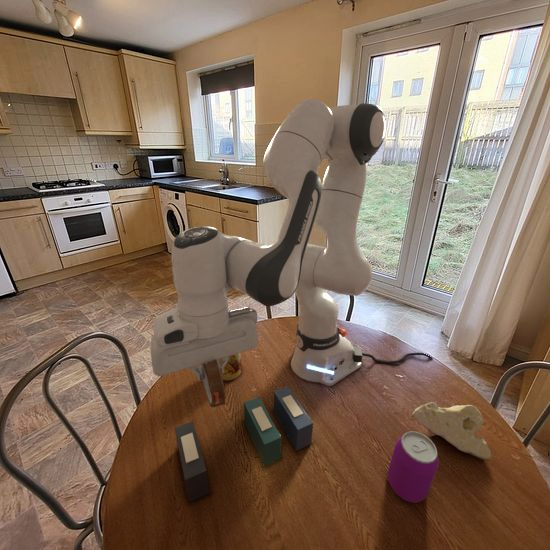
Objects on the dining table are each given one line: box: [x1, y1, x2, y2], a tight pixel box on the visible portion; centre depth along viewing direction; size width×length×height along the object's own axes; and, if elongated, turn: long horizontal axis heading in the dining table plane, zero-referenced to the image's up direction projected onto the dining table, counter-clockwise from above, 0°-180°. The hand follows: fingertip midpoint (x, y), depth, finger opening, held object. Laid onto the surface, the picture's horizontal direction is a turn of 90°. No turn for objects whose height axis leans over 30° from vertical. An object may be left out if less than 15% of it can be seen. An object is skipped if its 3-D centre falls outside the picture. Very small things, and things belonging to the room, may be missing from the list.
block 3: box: [272, 385, 314, 451], centre depth 71 cm, size 4×12×7 cm, turn 26°
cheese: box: [411, 400, 492, 460], centre depth 69 cm, size 15×7×15 cm
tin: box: [198, 359, 226, 408], centre depth 58 cm, size 15×3×8 cm, turn 23°
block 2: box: [243, 396, 282, 467], centre depth 67 cm, size 4×12×7 cm, turn 26°
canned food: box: [217, 353, 242, 381], centre depth 87 cm, size 8×8×12 cm
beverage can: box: [387, 430, 440, 504], centre depth 58 cm, size 8×8×12 cm
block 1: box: [174, 420, 210, 503], centre depth 61 cm, size 4×12×7 cm, turn 26°
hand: (210, 375), depth 59 cm, fingers closed on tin, 2 cm apart
